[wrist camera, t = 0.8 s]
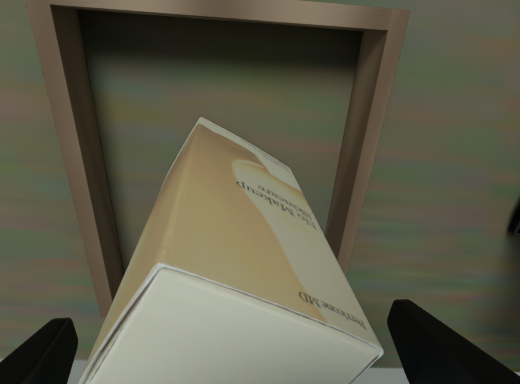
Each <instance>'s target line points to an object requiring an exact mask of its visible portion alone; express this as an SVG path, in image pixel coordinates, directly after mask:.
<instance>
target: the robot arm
mask: <svg viewBox="0 0 520 384" xmlns="http://www.w3.org/2000/svg"><path fill="white" fill-rule="evenodd" d="M509 230H510V232H511V233H512V234H514V235H515V236H520V209H519V211H518V213H517V215H516V217H515V219H514V221H513V223H512V225H511V227H510V229H509ZM387 325H388V328H389V331H390V334H391V336H392V339H393V342H394V345H395V347H396V350H397V353H398V355H399V358H400V361H401V364H402V366H403V369H404V372H405V374H406V377H407V379H408V381H409V383H410V384H520V376H519V375H517V374H516V373H514V372H513V371H511V370H510V369H509V368H507V367H506V366H504V365H503V364H501V363H500V362H498V361H497V360H496V359H494V358H493V357H491V356H490V355H488V354H487V353H485V352H484V351H483V350H481V349H480V348H478V347H477V346H475V345H474V344H472V343H471V342H470V341H468V340H467V339H465V338H464V337H462V336H461V335H459V334H458V333H457V332H455V331H454V330H452V329H451V328H449V327H448V326H446V325H445V324H444V323H442V322H441V321H439V320H438V319H436V318H435V317H434V316H432V315H431V314H429V313H428V312H426V311H425V310H423V309H422V308H421V307H419V306H418V305H416V304H415V303H413V302H412V301H410V300H408V299H400V300H395V301H394V302H393V304H392V307H391V309H390V312H389V315H388V318H387ZM77 347H78V337H77V334H76V331H75V327H74V324H73V321H72V319H71V318H55V319H52V320H50V321H49V322H48V323H47V324H45V325H44V326H43V327H42V328H41V329H39V330H38V331H37V332H36V333H35V334H33V335H32V336H31V337H30V338H29V339H27V340H26V341H25V342H24V343H23V344H21V345H20V346H19V347H18V348H17V349H16V350H14V351H13V352H12V353H11V354H10V355H8V356H7V357H6V358H5V359H4V360H2V361H1V362H0V384H67V382H68V378H69V375H70V371H71V368H72V364H73V361H74V357H75V354H76V351H77Z"/></svg>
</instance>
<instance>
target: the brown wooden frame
mask: <svg viewBox="0 0 520 384" xmlns="http://www.w3.org/2000/svg"><path fill="white" fill-rule="evenodd" d="M25 1H26V5H27V9H28V13H29V18H30V22H31V26H32V30H33V34H34V39H35V43H36V47H37V51H38V55H39V59H40V64H41V68H42V72H43V76H44V80H45V84H46V89H47V93H48V97H49V101H50V105H51V109H52V114H53V118H54V122H55V126H56V130H57V135H58V139H59V143H60V147H61V151H62V155H63V160H64V164H65V168H66V172H67V176H68V180H69V185H70V189H71V193H72V197H73V201H74V206H75V210H76V214H77V218H78V222H79V226H80V231H81V235H82V239H83V243H84V247H85V251H86V256H87V260H88V264H89V268H90V272H91V276H92V281H93V285H94V289H95V293H96V297H97V302H98V306H99V310H100V314H101V318H103V317H107V314H108V312H109V310H110V307H111V305H112V303H113V300H114V298H115V296H116V293H117V291H118V288H119V286H120V284H121V281H122V279H123V277H124V272H123V267H122V261H121V255H120V250H119V244H118V238H117V233H116V227H115V222H114V216H113V210H112V205H111V199H110V193H109V188H108V182H107V176H106V171H105V165H104V160H103V154H102V148H101V143H100V137H99V131H98V126H97V120H96V115H95V109H94V103H93V98H92V92H91V86H90V81H89V75H88V69H87V64H86V58H85V53H84V47H83V41H82V36H81V30H80V24H79V19H78V13H77V9H79V10H92V11H105V12H119V13H132V14H145V15H158V16H171V17H185V18H198V19H211V20H224V21H237V22H251V23H264V24H277V25H290V26H303V27H317V28H330V29H343V30H356V31H363V36H362V41H361V47H360V52H359V57H358V63H357V68H356V73H355V79H354V84H353V89H352V95H351V100H350V105H349V110H348V116H347V121H346V126H345V132H344V137H343V142H342V148H341V153H340V158H339V164H338V169H337V174H336V180H335V185H334V190H333V196H332V201H331V206H330V212H329V217H328V222H327V227H326V233H325V238H326V240H327V242H328V244H329V246H330V248H331V250H332V252H333V254H334V255H335V257H336V259H337V262H338V264H339V266H340V267H341V269H342V271H343V273H344V275H345V277H346V274H347V270H348V266H349V262H350V258H351V254H352V250H353V245H354V241H355V237H356V233H357V229H358V225H359V221H360V217H361V212H362V208H363V204H364V200H365V196H366V192H367V188H368V184H369V179H370V175H371V171H372V167H373V163H374V159H375V155H376V151H377V146H378V142H379V138H380V134H381V130H382V126H383V122H384V118H385V113H386V109H387V105H388V101H389V97H390V93H391V89H392V85H393V80H394V76H395V72H396V68H397V64H398V60H399V56H400V52H401V47H402V43H403V39H404V35H405V31H406V27H407V23H408V19H409V14H410V10H402V9H390V8H379V7H367V6H356V5H345V4H333V3H322V2H311V1H299V0H25Z"/></svg>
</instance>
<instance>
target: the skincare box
mask: <svg viewBox="0 0 520 384" xmlns="http://www.w3.org/2000/svg"><path fill="white" fill-rule="evenodd" d="M383 354H384V352H383V349H382V346H381V344H380V343H379V341H378V339H377V337H376V335H375V333H374V332H373V330H372V328H371V326H370V324H369V322H368V320H367V318H366V316H365V314H364V312H363V310H362V308H361V306H360V304H359V302H358V301H357V299H356V297H355V295H354V293H353V291H352V289H351V287H350V285H349V283H348V281H347V279H346V277H345V275H344V273H343V271H342V269H341V267H340V266H339V264H338V262H337V259H336V257H335V255H334V254H333V252H332V250H331V248H330V246H329V244H328V242H327V240H326V238H325V236H324V234H323V232H322V230H321V228H320V226H319V224H318V222H317V220H316V218H315V216H314V214H313V212H312V210H311V209H310V207H309V205H308V203H307V201H306V199H305V197H304V195H303V193H302V191H301V189H300V187H299V185H298V183H297V181H296V179H295V177H294V175H293V173H292V171H291V169H290V168H289V167H287V166H286V165H284V164H283V163H281V162H280V161H278V160H277V159H275V158H273V157H272V156H270V155H269V154H267V153H265V152H264V151H262V150H261V149H259V148H257V147H255V146H254V145H252V144H250V143H249V142H247V141H245V140H243V139H242V138H240V137H238V136H236V135H234V134H233V133H231V132H229V131H227V130H225V129H224V128H222V127H220V126H218V125H216V124H214V123H212V122H211V121H209V120H207V119H205V118H203V117H200V118H199V119H198V121H197V123H196V124H195V126H194V128H193V129H192V131H191V133H190V134H189V136H188V138H187V139H186V141H185V143H184V145H183V146H182V148H181V150H180V151H179V153H178V155H177V157H176V159H175V160H174V162H173V164H172V166H171V168H170V170H169V171H168V173H167V176H166V178H165V180H164V183H163V185H162V187H161V189H160V192H159V194H158V196H157V199H156V201H155V204H154V206H153V209H152V211H151V214H150V216H149V218H148V220H147V223H146V225H145V227H144V230H143V232H142V234H141V237H140V239H139V241H138V244H137V246H136V249H135V251H134V253H133V256H132V258H131V260H130V263H129V265H128V267H127V270H126V272H125V274H124V277H123V279H122V281H121V284H120V286H119V288H118V291H117V293H116V296H115V298H114V300H113V303H112V305H111V307H110V310H109V312H108V314H107V317H106V319H105V321H104V324H103V326H102V328H101V331H100V333H99V335H98V338H97V340H96V342H95V345H94V347H93V349H92V352H91V354H90V356H89V359H88V361H87V363H86V366H85V368H84V370H83V372H82V374H81V377H80V379H79V381H78V384H353V383H354V382H355V381H356V380H357V379H358V378H359V377H360V376H361V375H362V374H363V373H364V372H365V371H366V370H367V369H368V368H369V367H370V366H371V365H372V364H373V363H374V362H375V361H376V360H377V359H379V358H380V357H381V356H382V355H383Z"/></svg>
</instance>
